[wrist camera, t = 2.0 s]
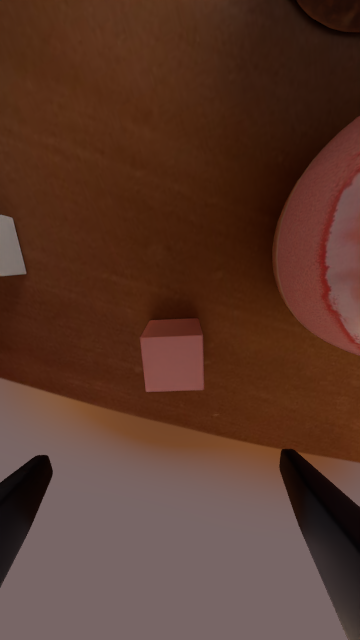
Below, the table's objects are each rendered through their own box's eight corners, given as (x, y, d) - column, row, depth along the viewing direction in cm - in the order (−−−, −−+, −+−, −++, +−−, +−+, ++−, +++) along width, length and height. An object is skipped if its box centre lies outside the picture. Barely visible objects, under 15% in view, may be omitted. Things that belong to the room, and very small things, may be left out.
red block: (153, 363, 20) (145, 392, 16) (149, 320, 19) (139, 337, 14) (199, 362, 20) (204, 390, 15) (198, 317, 18) (203, 334, 14)
